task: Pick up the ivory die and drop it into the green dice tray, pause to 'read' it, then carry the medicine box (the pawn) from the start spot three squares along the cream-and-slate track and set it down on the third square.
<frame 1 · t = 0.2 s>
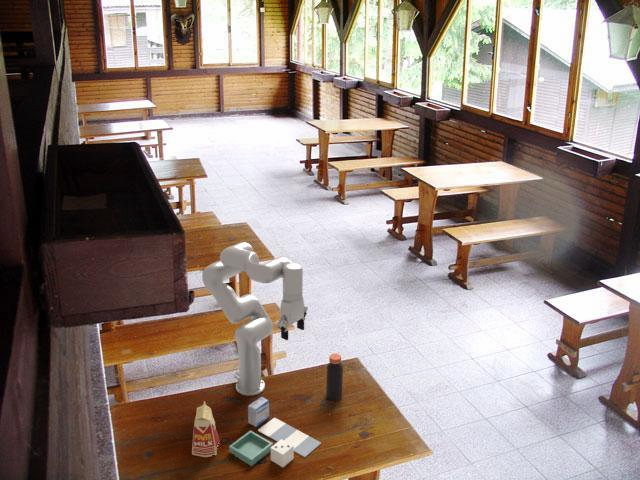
hand: (292, 333, 251), 36 cm above the table, tool pointing down, fingers open, 9 cm apart
medicine box: (258, 420, 258), on the table
bottle: (334, 396, 274), on the table
track: (289, 437, 249), on the table
die: (282, 459, 238), on the table
milk carton: (206, 449, 242), on the table
dice tray: (251, 451, 242), on the table
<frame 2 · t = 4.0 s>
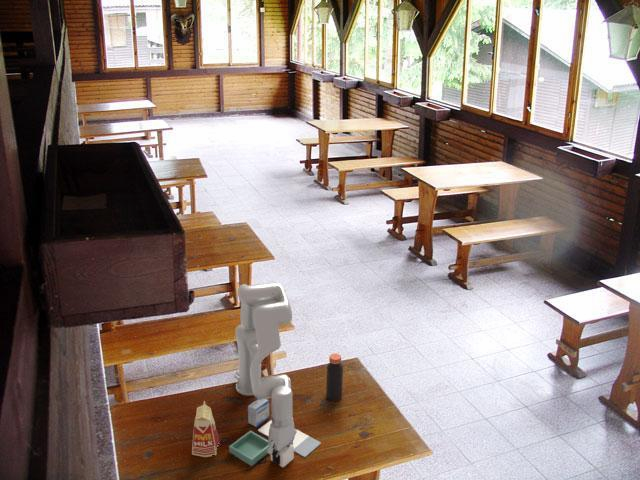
hand: (282, 457, 237), 1 cm above the table, tool pointing down, fingers closed on die, 5 cm apart
die: (282, 459, 238), on the table, touching gripper
everything else where it was.
when the fingers open (7 cm above the table, at t = 7.2 s): die drops 5 cm, resting on dice tray.
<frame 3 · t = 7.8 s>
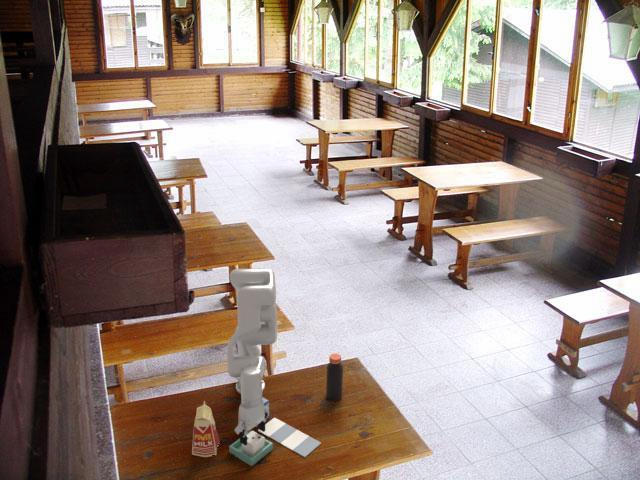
hand: (252, 436, 238), 7 cm above the table, tool pointing down, fingers open, 9 cm apart
die: (253, 450, 241), point 1 cm above the table, touching dice tray
everything else where it was.
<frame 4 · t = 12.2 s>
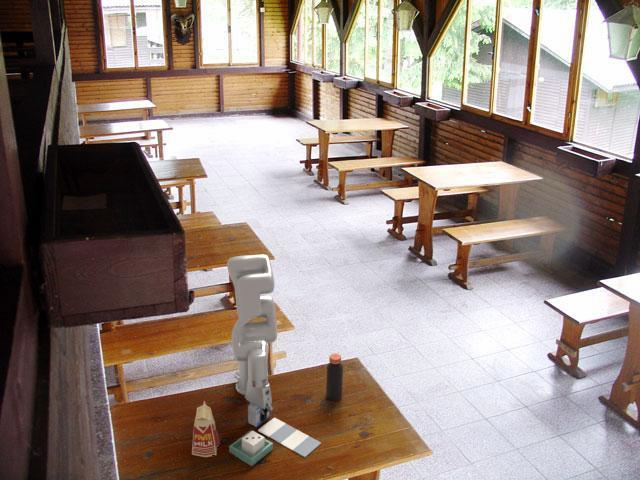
hand: (258, 417, 258), 2 cm above the table, tool pointing down, fingers closed on medicine box, 4 cm apart
medicine box: (258, 420, 258), on the table, touching gripper
everything else where it was.
when the fingers open (3 cm above the table, at t = 17.3 s): medicine box drops 1 cm, resting on track.
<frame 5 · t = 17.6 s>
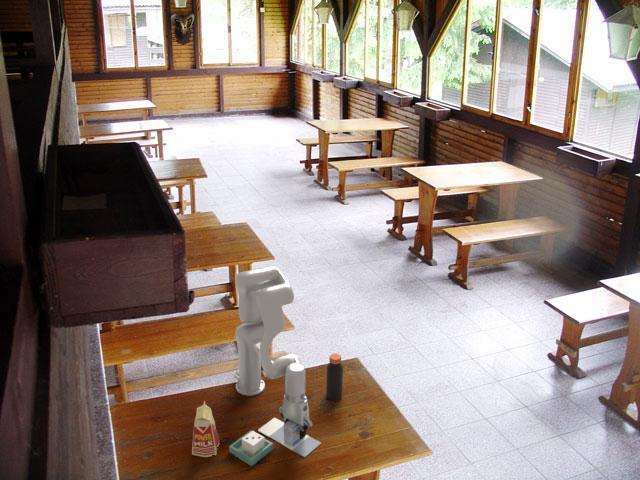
hand: (295, 432, 246), 4 cm above the table, tool pointing down, fingers open, 7 cm apart
medicine box: (294, 439, 248), resting on track
everything else where it was.
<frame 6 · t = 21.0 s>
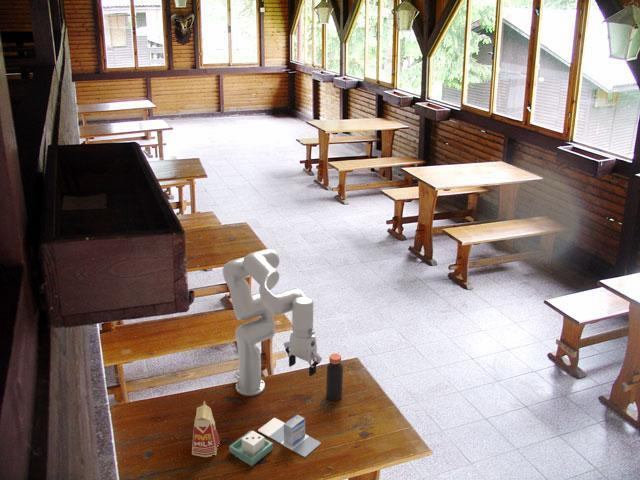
hand: (302, 369, 239), 30 cm above the table, tool pointing down, fingers open, 9 cm apart
nothing on the table moved.
at the end: medicine box inside the target area (0.3 cm from its centre), resting on track; medicine box tilted 0°; die inside the target area on the dice tray (1.0 cm from its centre), point 0.6 cm above the dice tray's base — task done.
